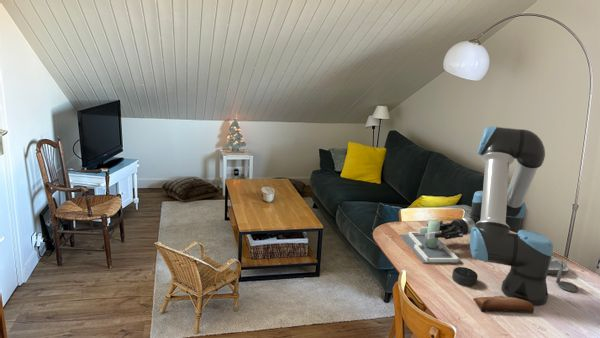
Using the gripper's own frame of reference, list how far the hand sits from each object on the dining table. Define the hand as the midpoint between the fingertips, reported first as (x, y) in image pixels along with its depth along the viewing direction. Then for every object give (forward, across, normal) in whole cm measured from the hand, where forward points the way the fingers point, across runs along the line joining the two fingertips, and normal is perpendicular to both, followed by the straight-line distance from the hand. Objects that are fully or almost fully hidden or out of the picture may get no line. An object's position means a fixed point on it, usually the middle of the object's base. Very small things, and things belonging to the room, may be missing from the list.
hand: (423, 233), depth 189 cm
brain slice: (-38, -29, -8) cm, 49 cm away
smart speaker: (+3, -27, -8) cm, 28 cm away
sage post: (-5, 0, -6) cm, 8 cm away
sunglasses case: (+5, -45, -8) cm, 46 cm away
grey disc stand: (-31, -45, -8) cm, 55 cm away
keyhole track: (-4, 0, -8) cm, 9 cm away
